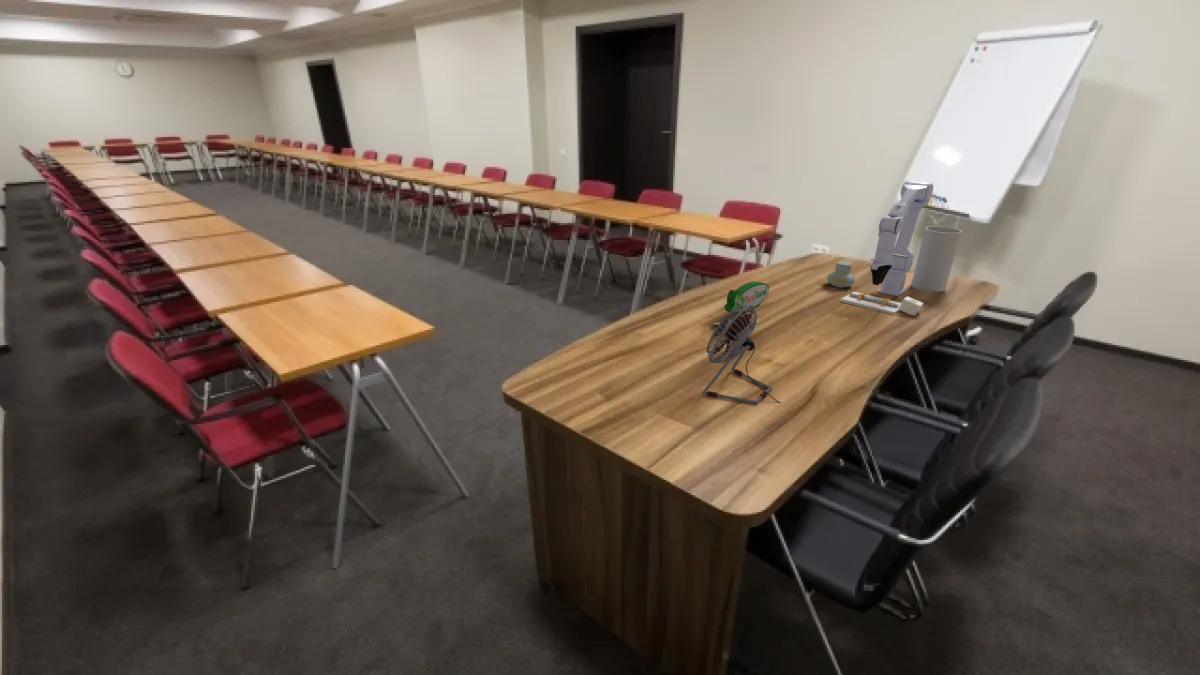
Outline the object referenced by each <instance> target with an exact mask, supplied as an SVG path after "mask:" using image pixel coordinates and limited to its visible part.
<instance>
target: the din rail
mask: <svg viewBox="0 0 1200 675" xmlns="http://www.w3.org/2000/svg"><path fill="white" fill-rule="evenodd" d="M860 293H861V294H859V295H858V294H854V293H853V292H851V293H849V294H850V295H849V294H848V295H849V296H851V297H855V298H858V299H860V300H862V299H863V300H867V301H871V302H875V303H879V304H882V305H884V306H886V305H887V306H891V307H895V308H898V307H899V304H895V303H891V302H889V301H890V300H891V299H890V298H884V299H885V300H879V299H874V298H870V297H866V296H865V294H866V292H860ZM866 295H867V294H866Z"/></svg>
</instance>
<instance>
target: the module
mask: <svg viewBox="0 0 1200 675" xmlns="http://www.w3.org/2000/svg"><path fill="white" fill-rule="evenodd" d="M900 303H901V305H900V307H899V308H898V310H900V311H901V312H904V313H906V314H908V315H910V316H915V317H916V315H917V314H918V313H919V312H920V310H921V309H922V307H923V305H924V302H922V301H920V300H916V299H915V298H912V297H911V296H906V297H904V298H903V299H902V301H901V302H900Z"/></svg>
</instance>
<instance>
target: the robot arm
mask: <svg viewBox="0 0 1200 675" xmlns="http://www.w3.org/2000/svg"><path fill="white" fill-rule="evenodd" d="M933 191H934V184H933V182H922V181H921V182H920V181H910V180H905V181H904V182H903V184H902V186H901V188H900V197H901V198H900V200H899V202H898V203H895V204H894V205H893V206H892V208H891V209H890V210H889V212H888V214H887V215H885V216H882V218H881V219H880V221H879V224H878V234H877V236H878V240H877V244H876V250H875V252H874V253H875V254H874V257H872V258H870V262H872V263H871V265H870V266H869V269H870V272H871V277H872V279H871V280H872V285H874V286H879V285H880V284H881V288H879V289H877V290H876V292H878V293H882V294H887V295H891V296H895V297H897V296H900V295H901V294H903V293H905V292H906V289H904V287H905V283H906V279H907V273H908V272H910V270H911V269H912V266H913V262H914V257H915V256H914V253H913V252H912V251H911V249H910V248H909V247H910V243H911V241H912V238H913V235H914V232H915V228H916V225H917V223H918V219H919V217H920V214H921V211H922V209H923V208H924V207H927V206H928V205H929V203H930V201H931V198H932V194H933V193H934V192H933Z"/></svg>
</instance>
